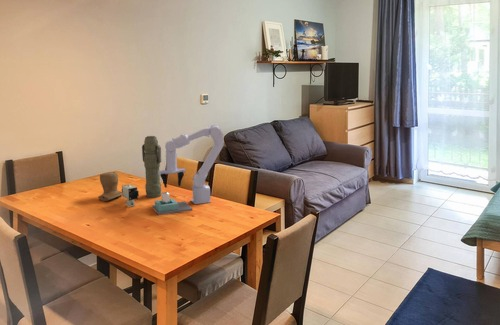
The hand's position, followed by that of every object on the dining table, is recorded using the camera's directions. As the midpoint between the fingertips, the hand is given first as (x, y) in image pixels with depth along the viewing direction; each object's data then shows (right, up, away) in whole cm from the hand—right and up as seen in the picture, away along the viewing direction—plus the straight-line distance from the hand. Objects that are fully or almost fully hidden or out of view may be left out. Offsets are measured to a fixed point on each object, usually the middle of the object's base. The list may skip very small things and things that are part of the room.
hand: (172, 186), depth 234 cm
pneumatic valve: (-22, -11, -3) cm, 24 cm away
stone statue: (-14, -6, +15) cm, 22 cm away
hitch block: (+1, -11, -8) cm, 14 cm away
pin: (-1, -11, -10) cm, 14 cm away
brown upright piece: (-38, -7, +11) cm, 40 cm away
